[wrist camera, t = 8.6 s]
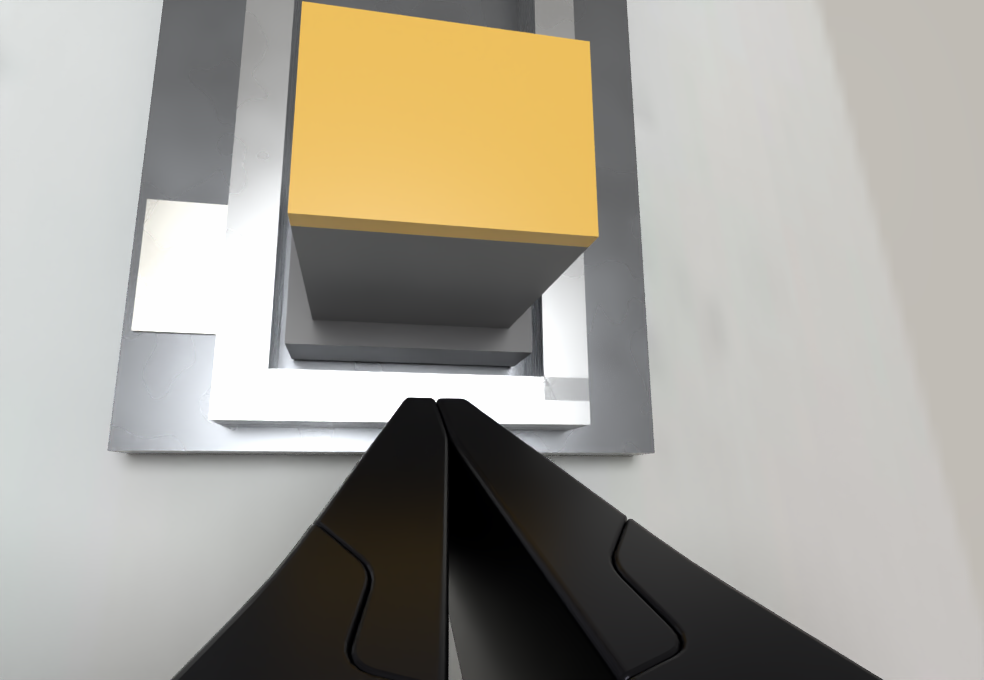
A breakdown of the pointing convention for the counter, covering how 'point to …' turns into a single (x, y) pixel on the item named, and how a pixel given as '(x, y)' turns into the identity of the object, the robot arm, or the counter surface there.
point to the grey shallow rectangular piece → (267, 246)
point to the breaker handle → (433, 186)
